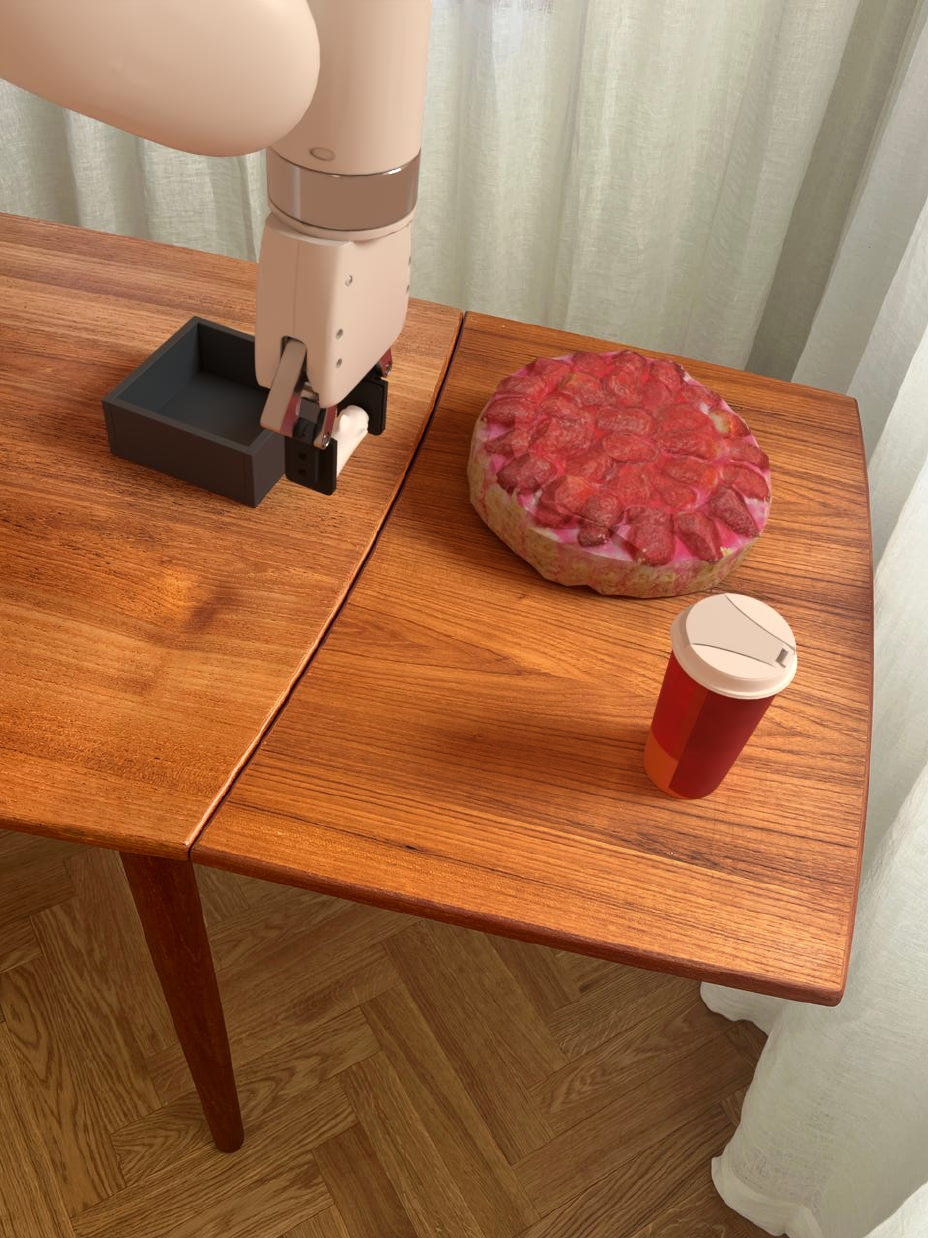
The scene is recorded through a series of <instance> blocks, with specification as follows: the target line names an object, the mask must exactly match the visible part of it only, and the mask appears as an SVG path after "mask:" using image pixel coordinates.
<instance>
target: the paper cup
mask: <svg viewBox="0 0 928 1238" xmlns="http://www.w3.org/2000/svg"><path fill="white" fill-rule="evenodd" d="M669 636H670V642H671V652H670V656H669V659H668V662H667V666H666V669H665V672H664V677H663V680H662V683H661V687H660V690H659V694H658V698H657V701H656V704H655V709H654V712H653V715H652V720H651V723H650V727H649V731H648V735H647V738H646V742H645V746H644V753H643V766H644V770H645V772H646V774H647V776H648V778H649V779H650V781H651V783H653V784H654V785H655V787H657V788H658V789H660V790H661V791H662V792H664V793H666V794H667V795H669V796H672V797H673V798H678V799H682V800H698V799H702V798H705V797H707V796H709V795H711V794H712V793H714V792H715V791H716V790H717V789H718V788H719V786H720V785H721V784H722V782H723V781H724V780H725V778H726V777H727V775H728V773H729V772H730V770H731V769H732V768H733V766H734V764H735V762H736V761H737V759H738V758H739V756H740V754H741V753H742V751H743V750H744V748H745V747H746V745H747V743H748V742H749V740H750V739H751V737H752V735H753V734H754V732H755V730H756V729H757V727H758V726H759V724H760V722H761V720H762V719H763V717H764V716H765V714H766V712H767V711H768V710H769V708H770V706H771V704H772V703H773V701H774V700H775V698H776V697H777V695H778V693H780V692H782V691H783V690H784V689H785V688H787V687H788V686H789V685H790V684H791V682H792V680H793V679H794V677H795V674H796V672H797V667H798V655H797V643H796V638H795V636H794V633H793V630H792V628H791V627H790V625H789V624H788V622H787V621H786V619H785V618H784V617H783V616H782V615H781V614H780V613H779V612H778V611H777V610H775V609H774V608H773V607H771V606H769V605H768V604H766V603H764V602H763V601H760V600H759V599H756V598H754V597H750V596H747V595H744V594H740V593H739V594H738V593H729V592H727V593H719V594H715V595H710V596H708V597H705V598H703V599H701V600H699V601H697V602H694V603H692V604H690V605H688V606H687V607H686V608H685V609H684V610H682V611H680V612H679V613H678V614H677V615H676V616H675V617H674V619H673V621H672V623H671V624H670V629H669Z"/></svg>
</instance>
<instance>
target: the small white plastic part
mask: <svg viewBox="0 0 928 1238" xmlns="http://www.w3.org/2000/svg"><path fill="white" fill-rule="evenodd" d="M368 420H369V417H368V415H367V413H366V412H365V411H364V410H363V409H361V408H360V407H358V406H354V405H351V406H348V407H347V408H346V409H344V410H342V411H341V412H340V415H339V416H338V417H337V416H336V418H335V419H334V424H333V430H332V435H331V437H332V438H334V439H335V440H337V441H338V447H337V478H338V477H339V475H340V474H341V472H342V470H343V468H344V467H345V465H346V463H347V462H348V460H349V459H350V457H351V456H352V454H353V453H354V451H355V450H356V448H358V446H359V444H360V443H361V442H362V441H363V439H364V438H365V437H366V435H368V433H367V432H368V431H367V428H368Z"/></svg>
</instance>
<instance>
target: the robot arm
mask: <svg viewBox="0 0 928 1238" xmlns="http://www.w3.org/2000/svg"><path fill="white" fill-rule="evenodd" d="M432 11H433V0H0V79H2V80H3V81H5V82H7V83H9V84H11V85H13V86H16V87H18V88H20V89H21V90H24V91H26V92H28V93H31V94H33V95H35V96H37V97H40V98H41V99H44V100H46V101H48V102H51V103H53V104H55V105H57V106H60V107H62V108H65V109H67V110H69V111H72V112H73V113H74V112H75V113H77V114H80V115H81V116H84V117H87V118H89V119H91V120H92V119H93V120H95V121H98V122H101V123H103V124H104V125H105V124H106V125H108V126H111V127H113V128H115V129H119V130H120V131H124V132H126V133H129V134H132V135H134V136H137V137H139V138H141V139H144V140H147V141H149V142H152V143H155V144H158V145H159V146H163V147H166V148H169V149H172V150H176V151H180V152H183V153H186V154H187V153H188V154H191V155H195V156H203V157H212V158H232V157H233V158H234V157H241V156H246V155H249V154H254V153H258V152H260V151H263V150H264V149H265V163H266V165H265V167H266V169H265V170H266V199H267V200H266V201H267V206H268V208H269V210H270V213H269V214H268V215H267V217H266V218H265V219H264V225H263V231H262V237H261V242H260V251H259V257H258V258H259V259H258V263H257V264H258V266H257V278H256V292H255V293H256V295H255V297H256V298H255V318H254V319H255V320H254V336H255V369H256V378H257V381H258V383H259V385H261V386H263V387H267V388H269V389H271V390H270V393H269V396H268V399H267V402H266V404H265V407H264V410H263V413H262V416H261V420H260V424H261V426H262V427H264V428H267V429H269V430H272V431H274V432H277V433H280V434H282V435H284V450H285V473H284V476H285V478H286V480H288V481H289V482H290V483H294V484H296V485H298V486H301V487H304V488H306V489H309V490H311V491H313V492H316V493H319V494H322V495H324V496H327V497H331V496H332V495H333V494H334V492H336V490H337V488H338V487H337V485H338V484H337V483H338V482H337V481H338V477H337V447H338V441H337V440H335V439H334V438H332V437H331V435H332V430H333V424H334V420H335V419H336V418H337V417H338V416H339V415H340V412H341V411H342V410H344V409H346V408H347V407H348V406H351V405H354V406H358V407H360V408H361V409H363V410H364V411H365V412H366V413H367V415H368V417H369V420H368V428H367V431H368V432H367V434H369V435H372V436H379V437H380V436H381V435H382V434H383V433H384V432H385V430H386V427H387V426H386V425H387V424H386V423H387V407H388V395H389V394H388V393H389V381H388V380H386V379H387V378H388V377H389V375H390V374H391V373H392V368H393V365H394V364H393V357H392V350H391V347H392V346H393V344H395V342H396V340H397V339H398V338H399V336H400V334H401V332H402V331H403V329H404V326H405V322H406V318H407V312H408V305H409V298H410V286H411V269H412V268H411V265H412V264H411V263H412V222H413V220H414V218H415V216H416V214H417V208H418V196H419V182H420V171H421V169H420V168H421V159H422V158H421V156H422V144H423V143H422V141H423V128H424V117H425V106H426V105H425V103H426V89H427V76H428V64H429V52H430V50H429V49H430V41H431V40H430V39H431V27H432V14H433V13H432ZM307 376H308V379H309V381H310V383H307V382H306V379H307ZM301 398H302V399H304V400H307V401H310V402H312V403H315V404H318V405H320V407H319V413H318V418H317V423H314V422H312V421H310V420H308V419H305V418H302V417H300V416H298V415H299V409H300V404H301Z"/></svg>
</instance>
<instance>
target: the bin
mask: <svg viewBox="0 0 928 1238" xmlns="http://www.w3.org/2000/svg"><path fill="white" fill-rule="evenodd" d="M306 382H307V383H310V381H309V379H308V376H307V379H306ZM270 390H271V389H269V388H267V387H263V386H261V385H259V383H258V381H257V378H256V369H255V335H253V334H249V333H247V332H244V331H240V330H237V329H235V328H232V327H229V326H227V325H224V324H220V323H218V322H215V321H212V320H210V319H206V318H203V317H200V316H198V315H193V316H192V317H191V318H190V319H189V320H188V321H187V322H185V323H184V324H182V326H181V327H180V328H178V329H177V330H176V332H174V333H173V334H172V335H171V336H170V337H169V338H168V339H167V340H165V341H164V342H163V343H162V344H161V345H160V346H159V347H158V348H156V350H154V351H153V352H152V353H151V354H149V356H148V357H147V358H145V359H144V360H143V361H142V362H141V363H140V364H138V366H137V367H136V368H135V369H133V370H132V371H131V372H130V373H129V374H128V375H127V376H125V378H124V379H122V381H120V382H119V383H118V384H117V385H116V386H114V387H113V388H112V389H111V390H110V391H109V392H108V393H106V395H105V396H103V397H102V398H101V400H100V402H101V406H102V414H103V418H104V424H105V429H106V435H107V441H108V446H109V452H110V454H112V455H115V456H118V457H119V458H123V459H125V460H127V461H131V462H133V463H136V464H139V465H140V466H144V467H146V468H148V469H152V470H154V471H156V472H159V473H162V474H165V475H168V476H170V477H172V478H175V479H178V480H180V481H183V482H186V483H188V484H190V485H194V486H196V487H199V488H201V489H204V490H207V491H209V492H211V493H214V494H218V495H220V496H222V497H225V498H228V499H231V500H234V501H237V502H238V503H241V504H243V505H246V506H249V507H251V508H255V509H256V508H257V506H258V505H259V504H260V503H261V502H262V501H263V500H264V498H265V497H266V496H267V495H268V494H269V493H270V491H271V490H272V489H273V488H274V487H275V486H276V484H277V483H278V481H280V480H281V478H282V477H283V476H285V450H284V435H282V434H280V433H277V432H274V431H272V430H269V429H267V428H264V427H262V426H261V424H260V420H261V416H262V413H263V410H264V407H265V404H266V402H267V399H268V396H269V393H270ZM319 407H320V405H318V404H315V403H312V402H310V401H307V400H304V399H302V398H301V404H300V409H299V415H298V416H300V417H302V418H305V419H308V420H310V421H312V422H314V423H317V418H318V413H319Z"/></svg>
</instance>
